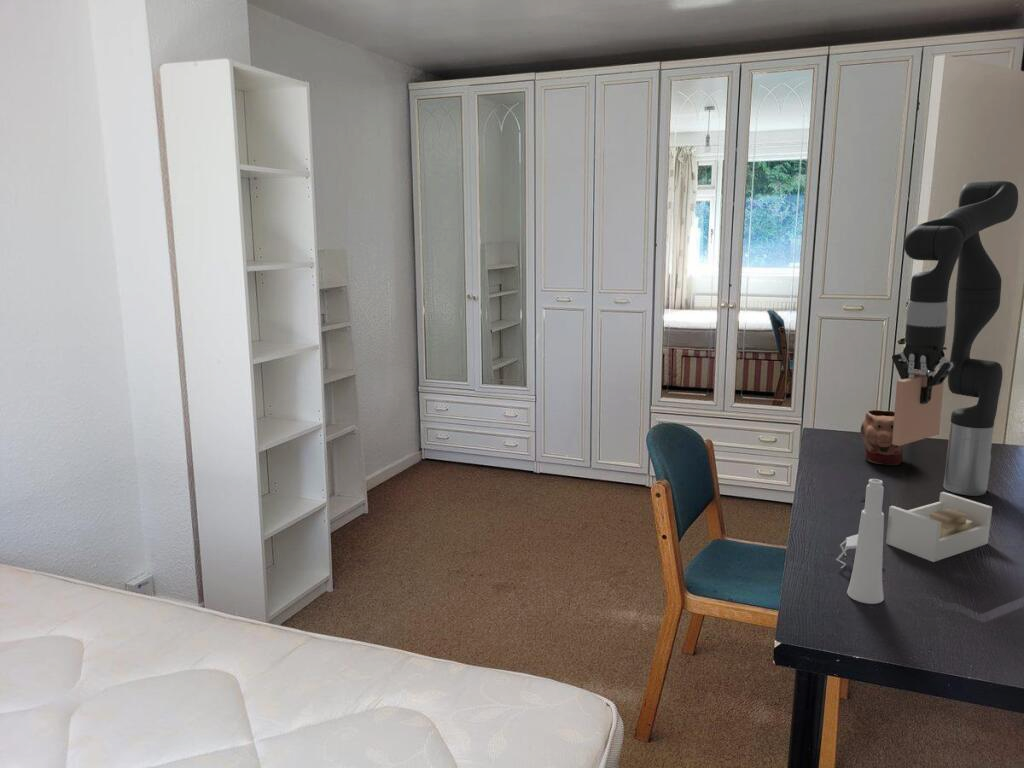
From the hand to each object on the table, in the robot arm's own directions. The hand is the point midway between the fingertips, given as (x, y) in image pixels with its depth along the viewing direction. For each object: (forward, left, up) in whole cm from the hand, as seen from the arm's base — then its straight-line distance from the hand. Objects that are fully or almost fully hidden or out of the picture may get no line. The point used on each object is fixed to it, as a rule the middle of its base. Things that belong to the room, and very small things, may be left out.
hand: (919, 401), depth 165 cm
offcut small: (+6, +13, -22) cm, 26 cm away
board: (0, 0, -8) cm, 8 cm away
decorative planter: (-38, -34, -28) cm, 59 cm away
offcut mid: (+5, +13, -25) cm, 28 cm away
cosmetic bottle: (+37, +18, -28) cm, 50 cm away
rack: (+6, +11, -28) cm, 31 cm away
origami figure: (+25, +8, -29) cm, 39 cm away
